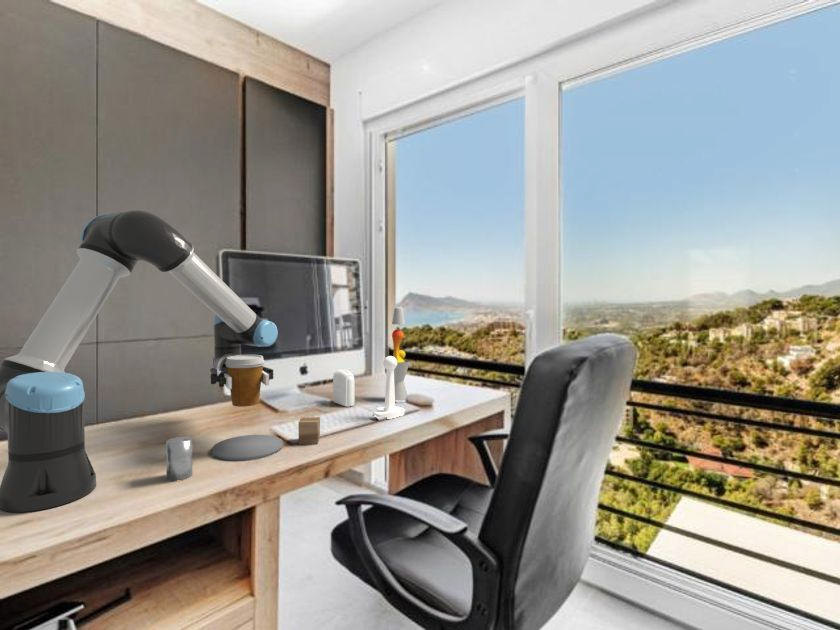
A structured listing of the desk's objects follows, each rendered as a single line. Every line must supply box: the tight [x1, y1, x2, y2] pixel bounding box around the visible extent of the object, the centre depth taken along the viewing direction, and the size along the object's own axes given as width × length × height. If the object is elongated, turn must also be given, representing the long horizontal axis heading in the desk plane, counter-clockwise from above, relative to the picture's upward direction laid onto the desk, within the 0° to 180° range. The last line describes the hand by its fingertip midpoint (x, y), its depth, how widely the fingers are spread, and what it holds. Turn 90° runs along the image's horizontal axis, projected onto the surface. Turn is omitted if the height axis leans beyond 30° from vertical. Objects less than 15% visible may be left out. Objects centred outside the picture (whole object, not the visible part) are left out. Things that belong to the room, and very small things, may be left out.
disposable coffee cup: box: [225, 354, 266, 408], centre depth 117 cm, size 10×10×12 cm
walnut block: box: [298, 416, 321, 445], centre depth 125 cm, size 5×5×6 cm
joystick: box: [372, 355, 405, 420], centre depth 151 cm, size 11×8×20 cm
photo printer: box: [332, 369, 356, 408], centre depth 166 cm, size 10×4×12 cm, turn 39°
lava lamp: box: [391, 306, 411, 400], centre depth 172 cm, size 9×9×35 cm
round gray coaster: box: [211, 434, 284, 462], centre depth 118 cm, size 17×17×1 cm
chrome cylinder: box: [165, 436, 193, 482], centre depth 100 cm, size 5×5×8 cm
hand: (249, 381), depth 113 cm, fingers closed on disposable coffee cup, 8 cm apart
